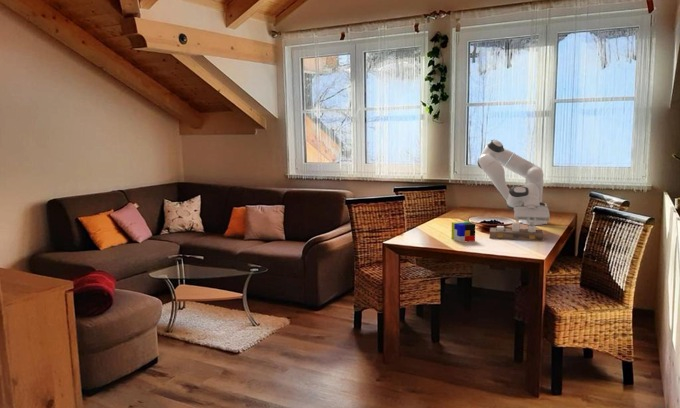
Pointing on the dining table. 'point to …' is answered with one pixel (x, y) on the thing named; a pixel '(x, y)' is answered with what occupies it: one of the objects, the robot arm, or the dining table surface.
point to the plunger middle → (516, 226)
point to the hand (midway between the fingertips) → (531, 225)
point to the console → (516, 234)
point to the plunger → (531, 228)
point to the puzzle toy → (463, 231)
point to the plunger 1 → (500, 228)
